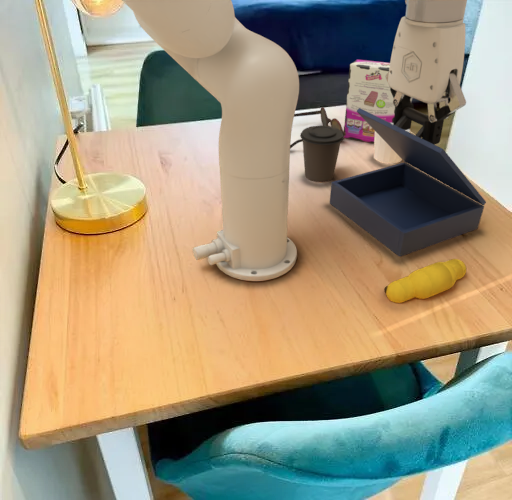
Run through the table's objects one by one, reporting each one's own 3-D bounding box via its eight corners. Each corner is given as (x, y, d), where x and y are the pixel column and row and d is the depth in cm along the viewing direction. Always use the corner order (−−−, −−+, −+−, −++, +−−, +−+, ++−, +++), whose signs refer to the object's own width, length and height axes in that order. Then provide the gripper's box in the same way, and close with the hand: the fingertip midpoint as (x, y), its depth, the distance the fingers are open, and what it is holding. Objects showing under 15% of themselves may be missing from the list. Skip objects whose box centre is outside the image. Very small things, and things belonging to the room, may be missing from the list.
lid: (439, 153, 68) (462, 124, 67) (356, 111, 82) (374, 86, 81) (483, 205, 80) (503, 181, 79) (404, 161, 93) (420, 140, 92)
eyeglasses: (344, 146, 111) (347, 124, 108) (280, 154, 108) (280, 131, 105) (320, 122, 123) (322, 102, 120) (261, 129, 120) (261, 108, 117)
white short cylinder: (405, 168, 102) (411, 135, 98) (371, 166, 103) (375, 133, 99) (403, 154, 107) (408, 122, 103) (370, 152, 108) (374, 121, 104)
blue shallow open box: (398, 260, 76) (404, 233, 74) (329, 206, 90) (331, 181, 87) (476, 232, 83) (484, 206, 80) (400, 185, 96) (404, 161, 93)
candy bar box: (396, 139, 114) (409, 64, 105) (390, 147, 110) (402, 70, 101) (349, 130, 118) (357, 57, 109) (342, 138, 115) (349, 63, 105)
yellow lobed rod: (400, 315, 66) (405, 292, 64) (379, 297, 69) (384, 274, 67) (474, 284, 72) (481, 262, 69) (452, 269, 75) (458, 246, 72)
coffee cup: (293, 184, 96) (295, 135, 91) (303, 167, 103) (306, 119, 97) (335, 191, 94) (340, 140, 88) (343, 172, 101) (348, 124, 95)
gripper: (371, 3, 72) (361, 124, 83) (464, 25, 60) (437, 164, 70) (412, -4, 75) (396, 115, 85) (508, 16, 62) (477, 152, 73)
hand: (415, 136), depth 78 cm, fingers closed on lid, 5 cm apart
